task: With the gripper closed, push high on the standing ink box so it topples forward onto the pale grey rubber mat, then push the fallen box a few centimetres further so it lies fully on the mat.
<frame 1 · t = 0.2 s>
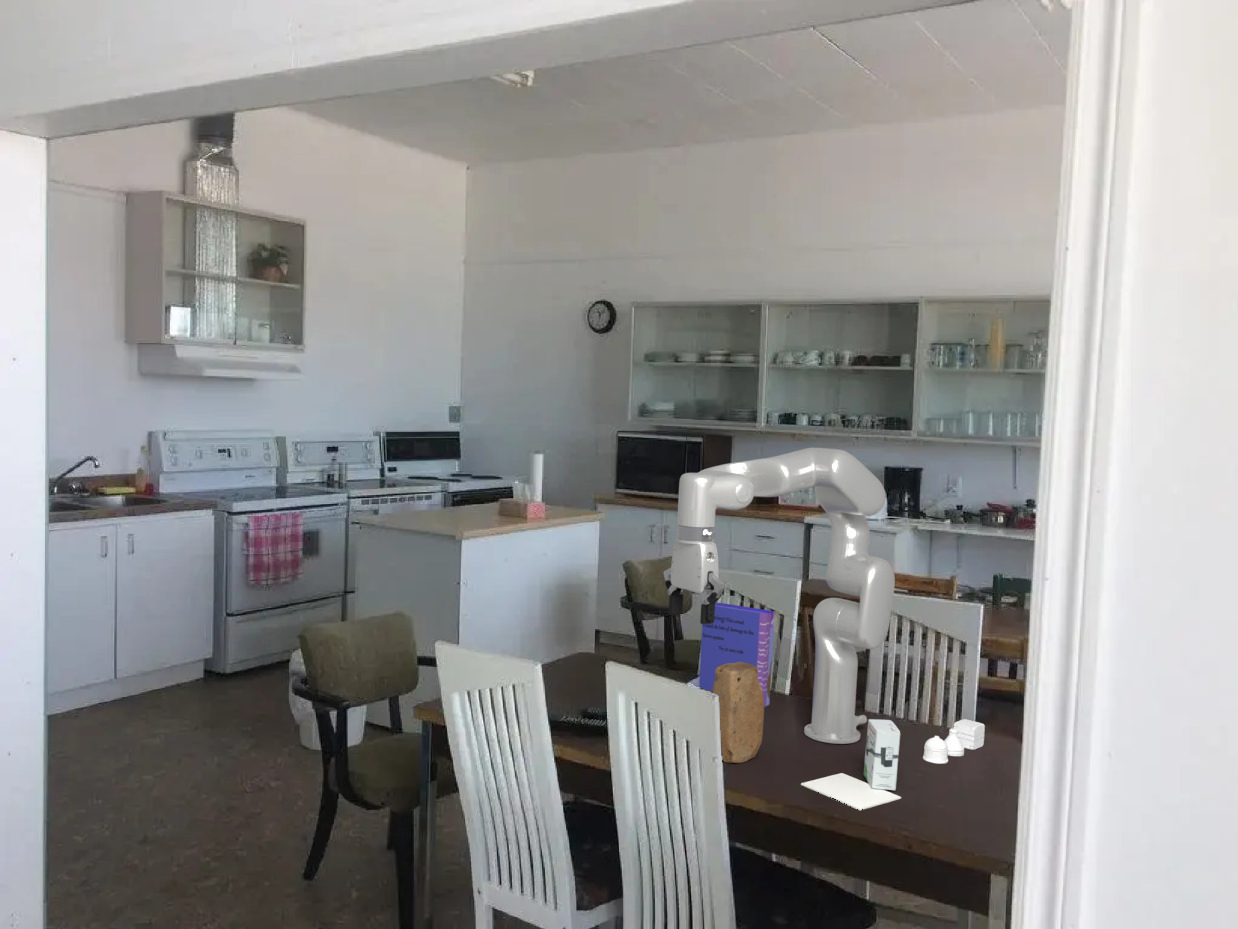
hand: (691, 618, 212), 31 cm above the table, fingers open, 9 cm apart
container set: (951, 754, 233), on the table
ink box: (878, 784, 211), on the table, touching mat
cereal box: (733, 701, 266), on the table
mat: (850, 791, 206), on the table
block: (735, 758, 223), on the table
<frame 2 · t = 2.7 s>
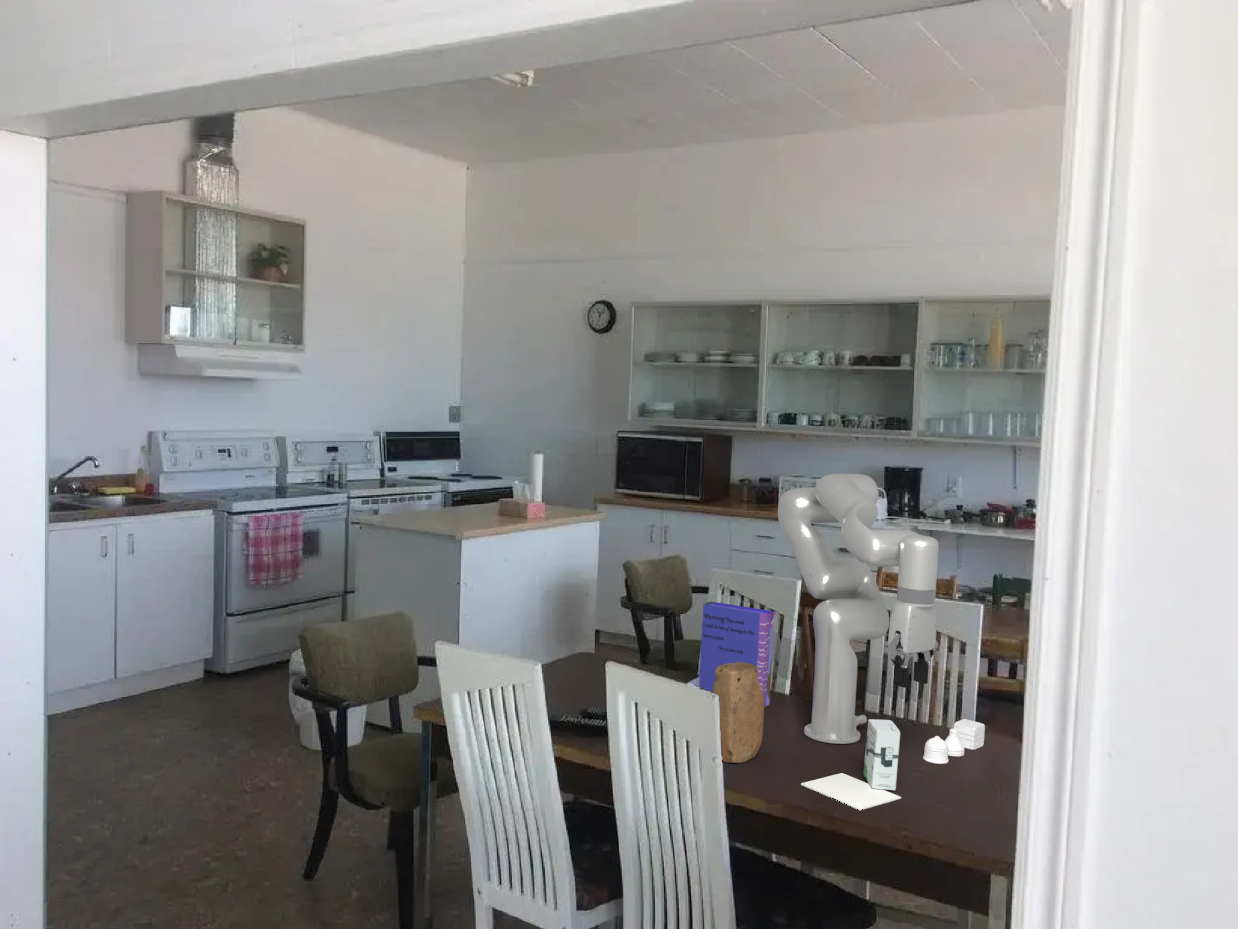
hand: (910, 683, 214), 20 cm above the table, fingers open, 5 cm apart
nothing on the table moved.
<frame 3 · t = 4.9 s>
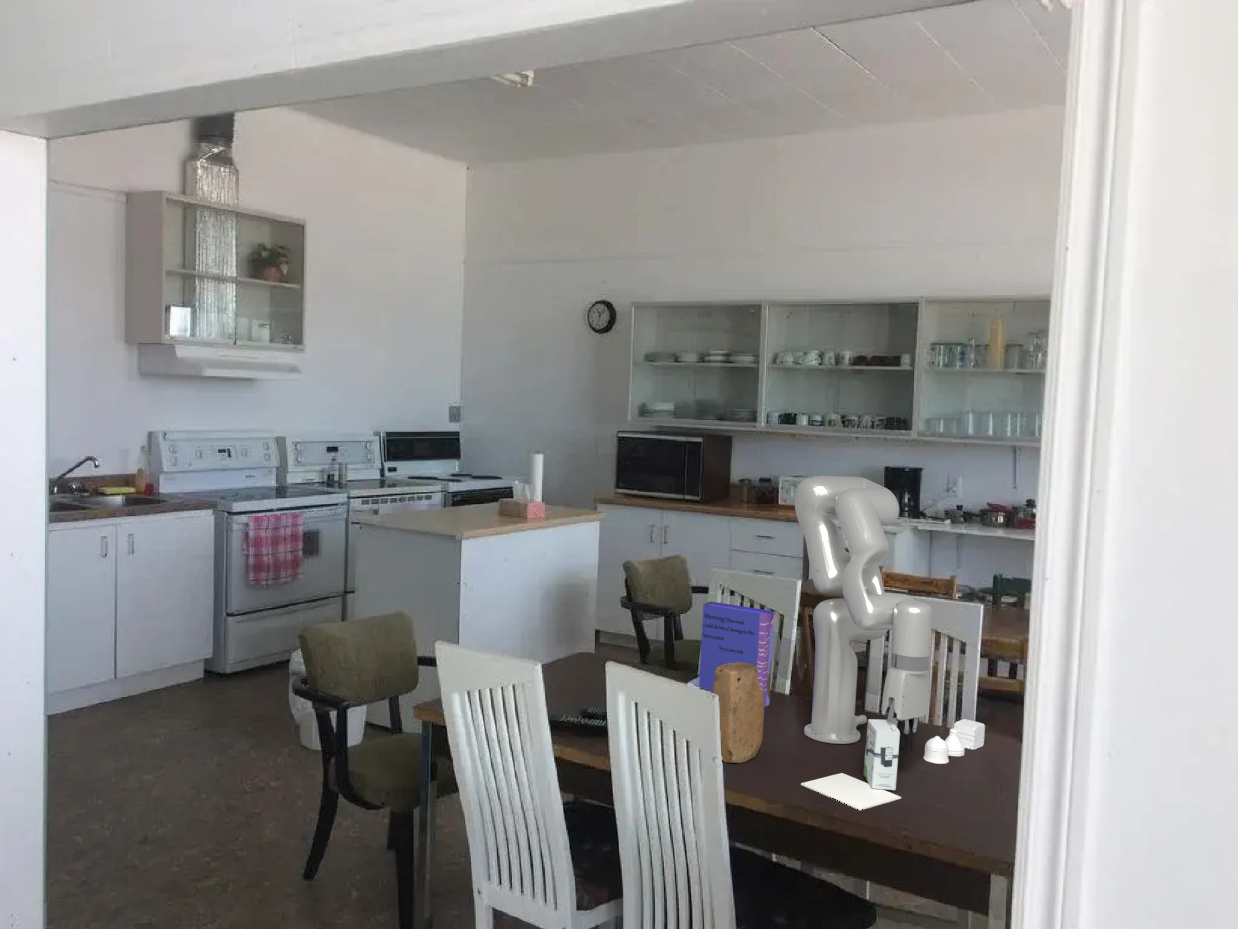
hand: (904, 750, 215), 6 cm above the table, fingers closed
ink box: (878, 784, 211), on the table, touching gripper, mat
everything else where it was.
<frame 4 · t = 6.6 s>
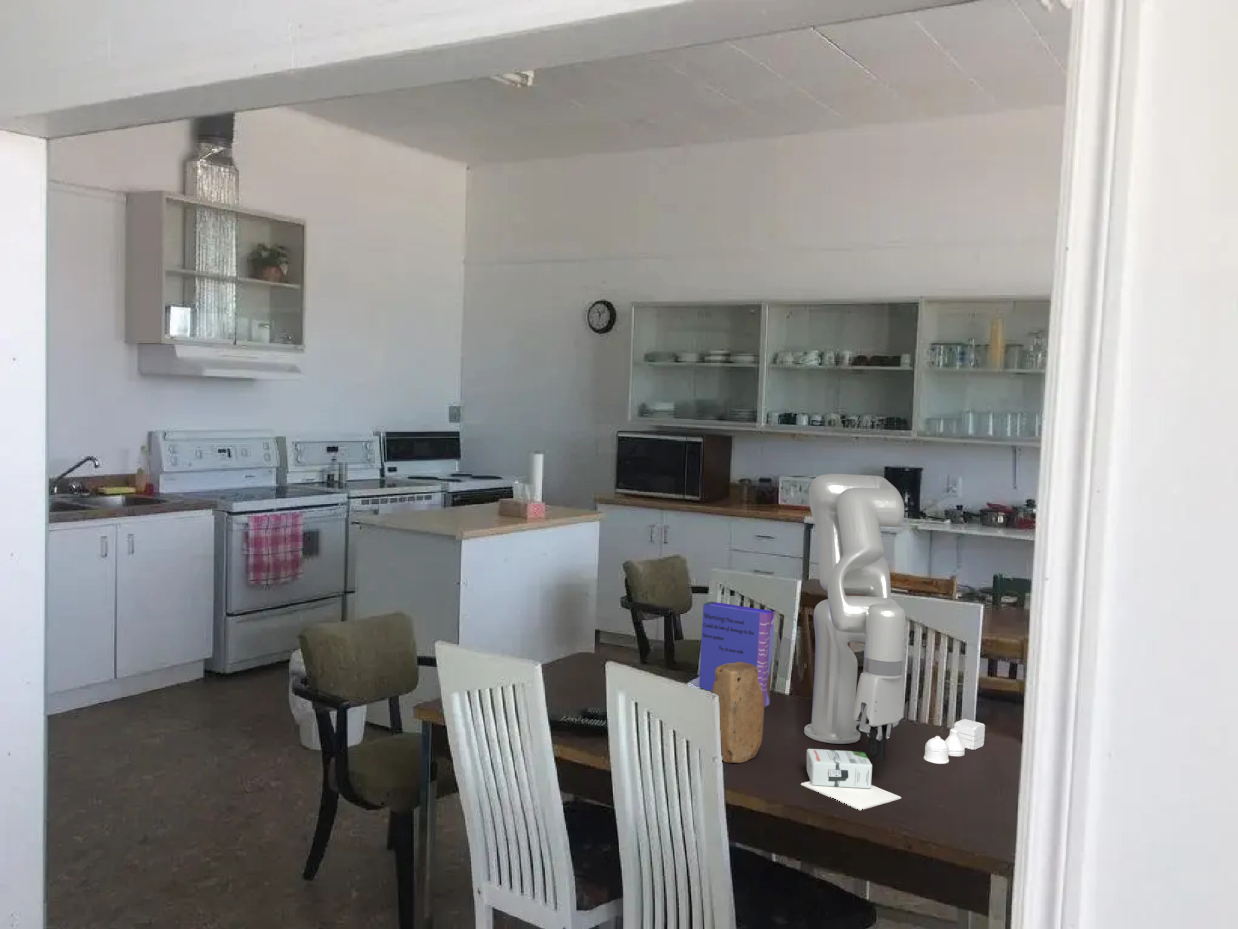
hand: (877, 757, 210), 6 cm above the table, fingers closed
ink box: (869, 770, 210), point 3 cm above the table, touching mat
everything else where it was.
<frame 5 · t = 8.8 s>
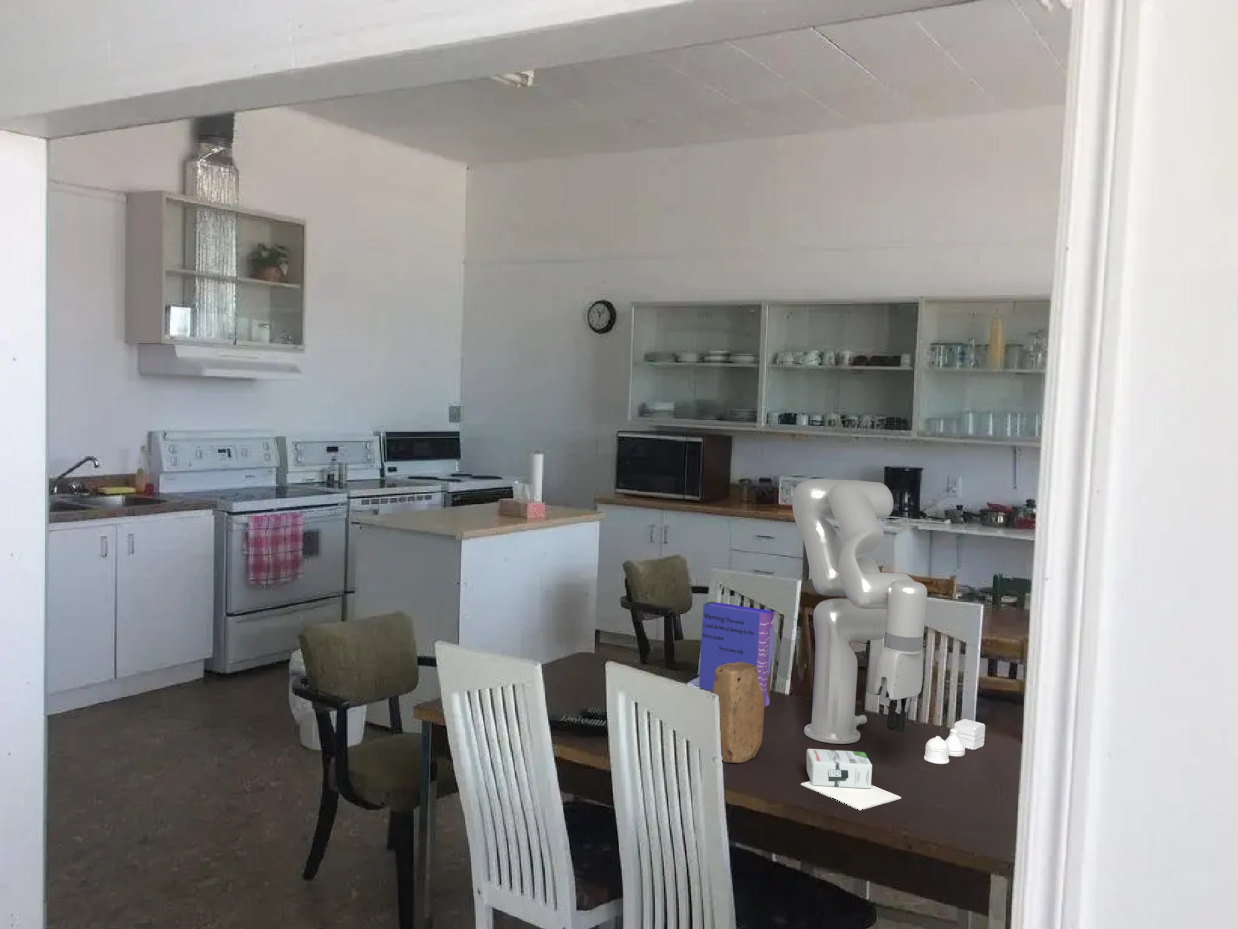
hand: (895, 729, 214), 10 cm above the table, fingers closed
nothing on the table moved.
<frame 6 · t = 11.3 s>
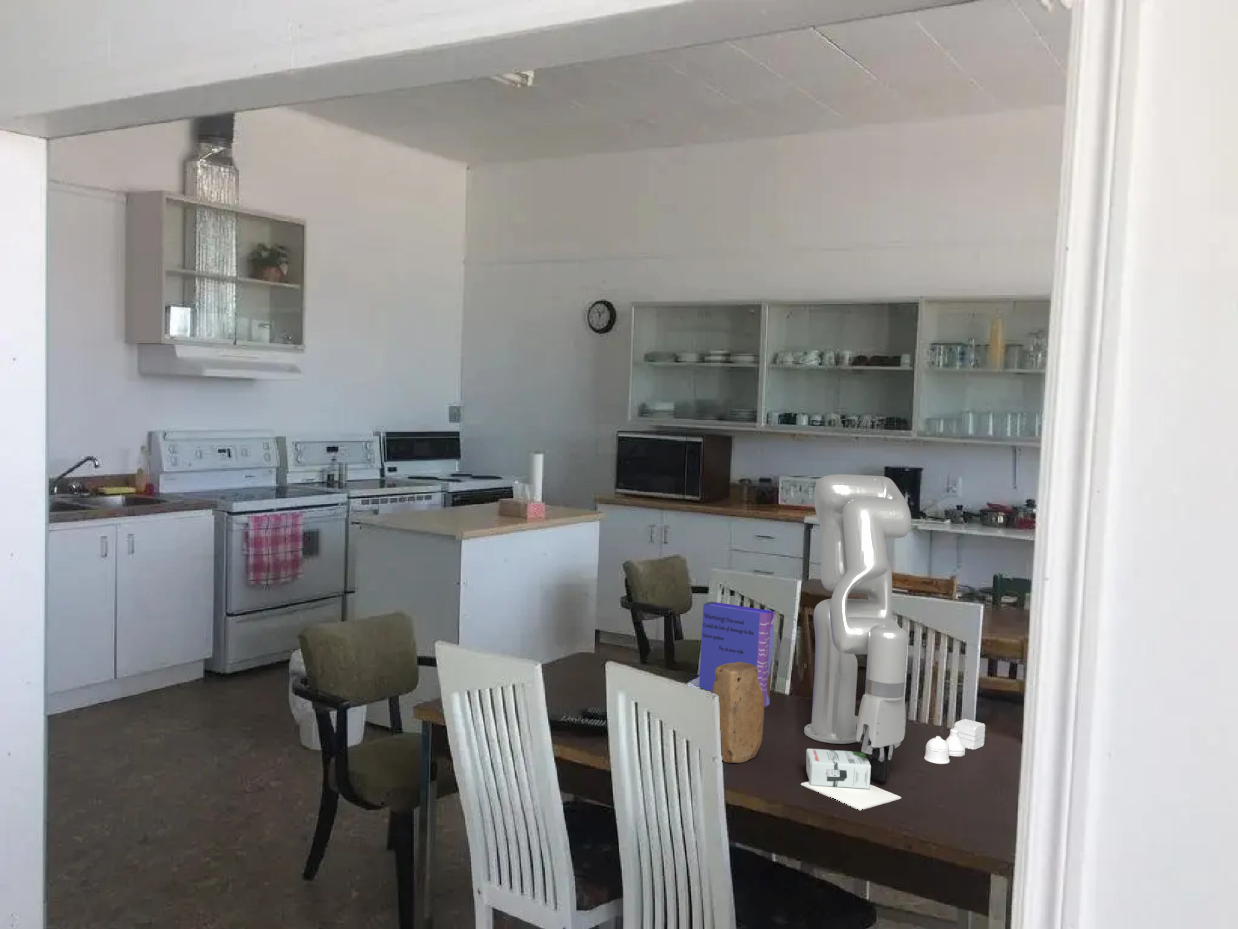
hand: (879, 778, 210), 1 cm above the table, fingers closed
ink box: (868, 770, 210), point 3 cm above the table, touching gripper
everything else where it was.
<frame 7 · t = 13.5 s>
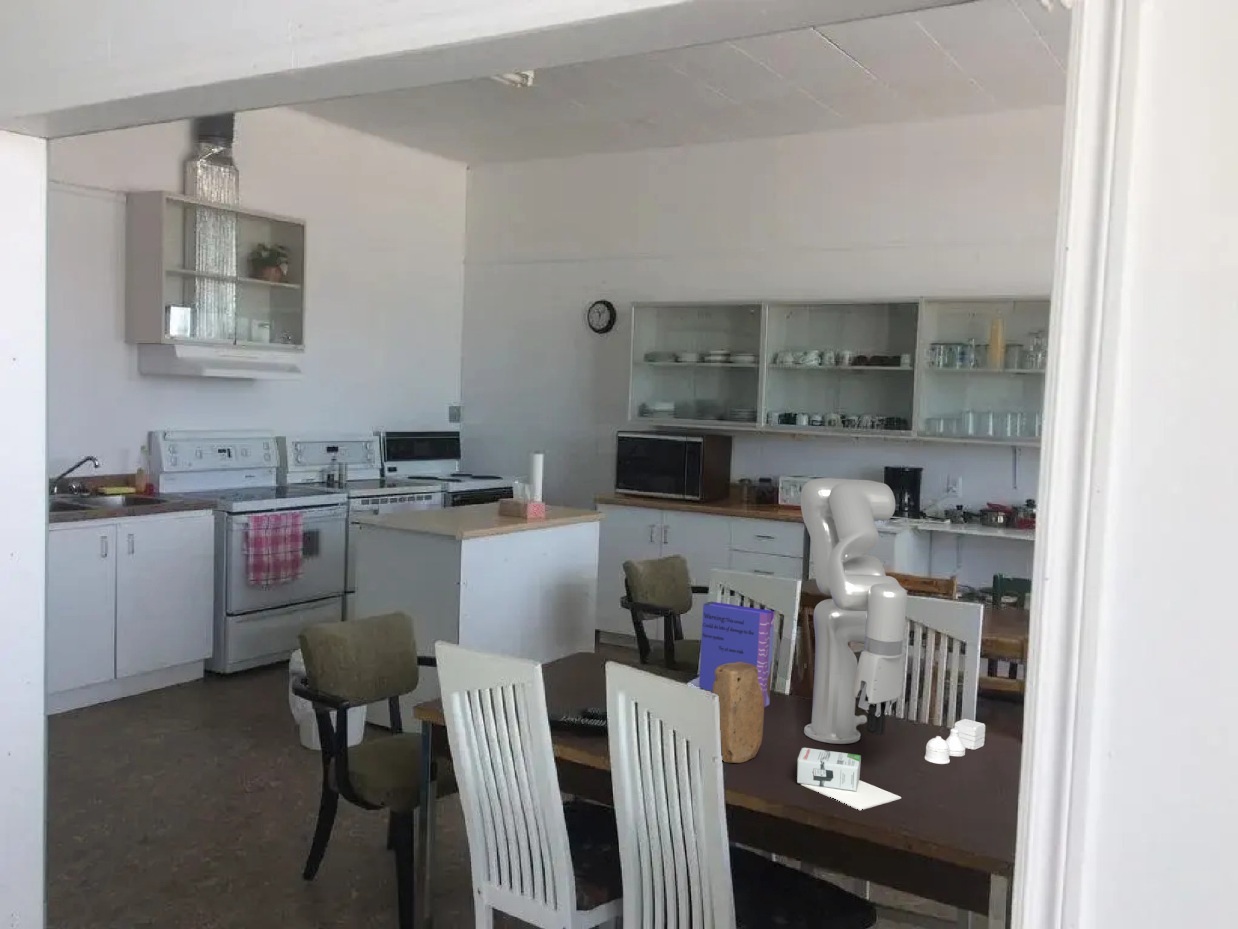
hand: (875, 732, 214), 9 cm above the table, fingers closed
ink box: (860, 773, 208), point 3 cm above the table, touching mat
everything else where it was.
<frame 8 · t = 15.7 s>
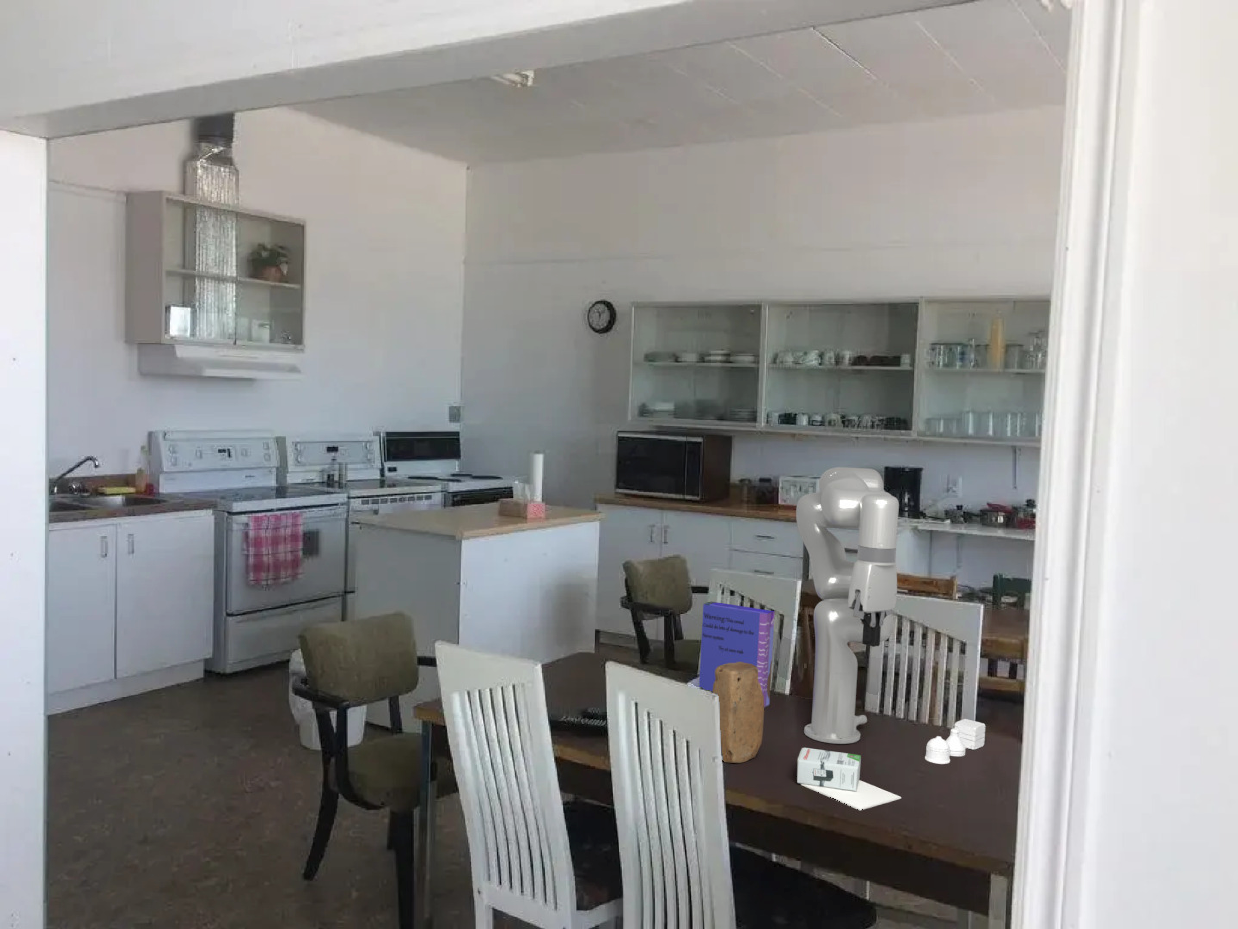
hand: (870, 644, 214), 27 cm above the table, fingers closed
nothing on the table moved.
at the end: ink box tilted 90°; ink box inside the target area (3.1 cm from its centre), point 2.7 cm above the table; ink box moved 5.7 cm from its start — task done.
